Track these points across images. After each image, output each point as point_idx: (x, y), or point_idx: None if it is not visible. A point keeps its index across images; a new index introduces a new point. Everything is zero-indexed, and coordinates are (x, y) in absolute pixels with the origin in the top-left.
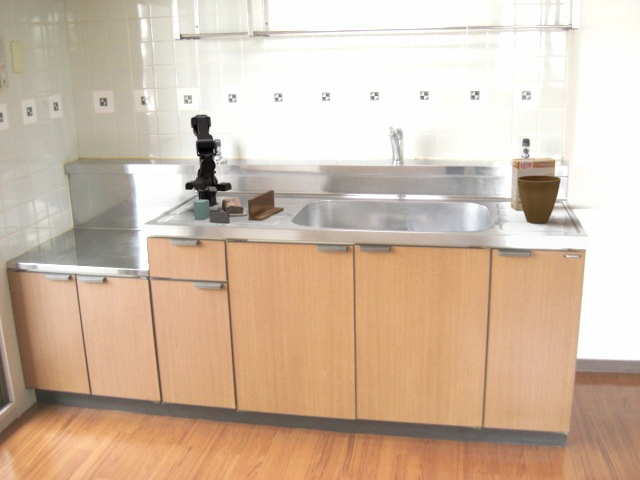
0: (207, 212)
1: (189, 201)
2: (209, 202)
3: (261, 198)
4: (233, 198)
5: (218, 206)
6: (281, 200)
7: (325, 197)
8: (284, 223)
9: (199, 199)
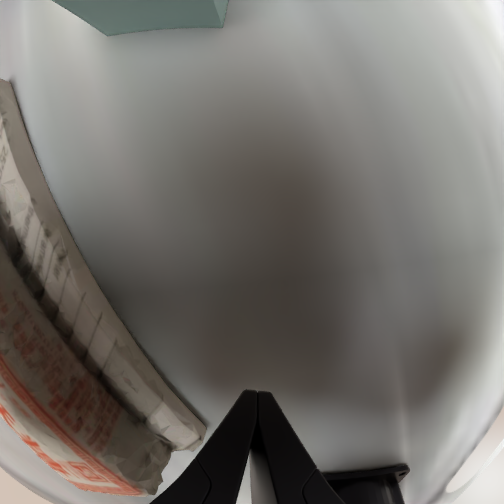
0: None
1: (441, 487)
2: (230, 428)
3: None
4: (82, 489)
5: (198, 444)
6: (54, 486)
7: (4, 469)
8: None
9: (400, 502)
